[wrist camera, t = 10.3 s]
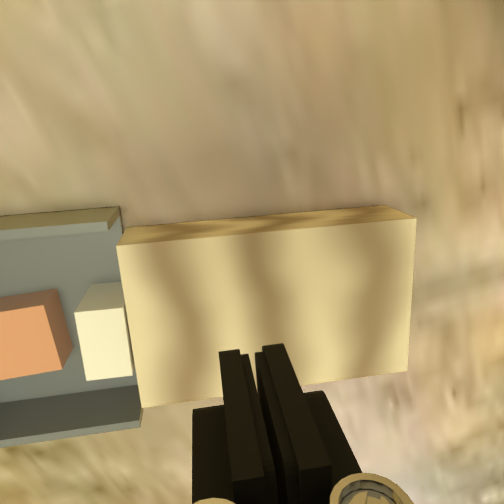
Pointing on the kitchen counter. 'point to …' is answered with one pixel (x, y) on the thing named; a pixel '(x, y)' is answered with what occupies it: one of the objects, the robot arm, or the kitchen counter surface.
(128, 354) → the cream square block
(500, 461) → the kitchen counter surface
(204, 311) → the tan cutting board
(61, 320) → the orange square block
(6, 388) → the tray
